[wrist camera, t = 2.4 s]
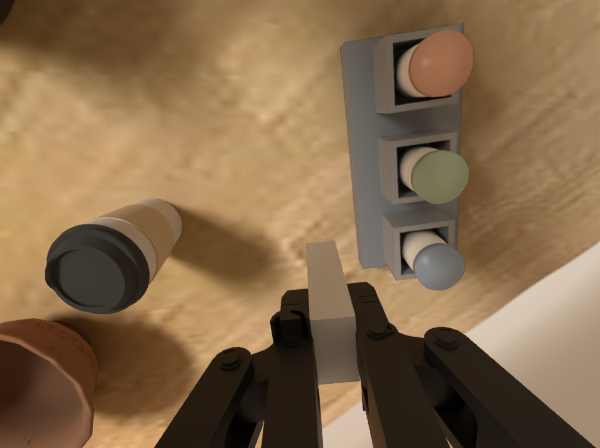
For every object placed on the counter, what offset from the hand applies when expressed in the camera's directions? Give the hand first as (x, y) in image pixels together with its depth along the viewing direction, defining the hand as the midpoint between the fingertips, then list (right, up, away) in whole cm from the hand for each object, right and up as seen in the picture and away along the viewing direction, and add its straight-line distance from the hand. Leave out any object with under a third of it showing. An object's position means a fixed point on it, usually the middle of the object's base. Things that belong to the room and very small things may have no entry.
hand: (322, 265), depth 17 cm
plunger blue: (+12, 0, +19) cm, 23 cm away
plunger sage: (+11, +8, +16) cm, 21 cm away
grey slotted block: (+11, +10, +22) cm, 27 cm away
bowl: (-38, -16, +31) cm, 51 cm away
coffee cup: (-20, +2, +25) cm, 32 cm away
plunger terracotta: (+10, +17, +13) cm, 23 cm away
